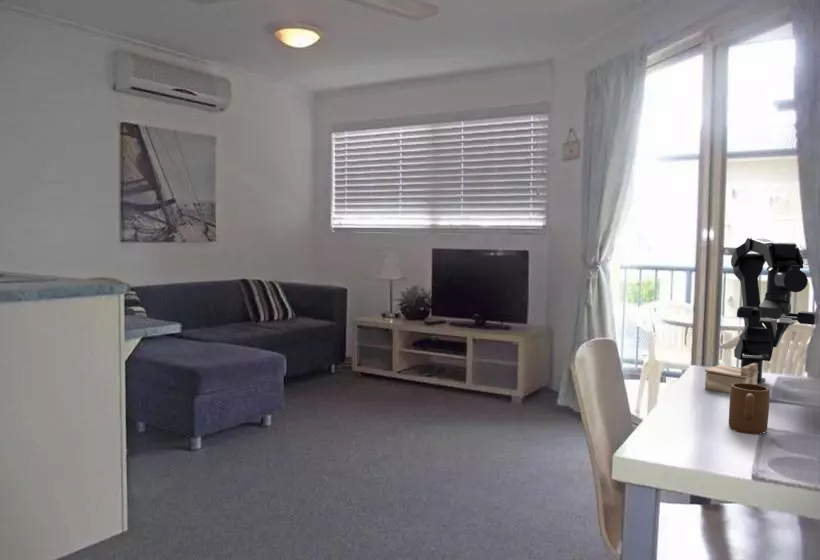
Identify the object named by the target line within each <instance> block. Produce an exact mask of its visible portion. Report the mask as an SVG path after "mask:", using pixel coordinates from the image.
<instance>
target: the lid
mask: <svg viewBox="0 0 820 560" xmlns="http://www.w3.org/2000/svg"><path fill="white" fill-rule="evenodd" d="M704 372H705V373H707V372H710V373H716V374H722V375H729V376H735V377H741V378H748V377H750V376H752V375H754V374H756V373H759V371H758V363H752V364H749V365H747V366H744V367H742V368H741V367H739V366H738V367H737V366H732V365H723V364H718V365H715V366H712V367H709V368H706V369H705V370H704Z"/></svg>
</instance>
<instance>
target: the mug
mask: <svg viewBox="0 0 820 560" xmlns="http://www.w3.org/2000/svg"><path fill="white" fill-rule="evenodd" d="M729 395H730V396H729V406H728V407H729V409H728V427H729V428H730V429H732V430H733V431H736V432H738V433H743V434H749V435H761V434H760V433H763V432H765V433H766V432H767V431H768V425H769V424H768V423H769V411H770V395H771V394H770V389H769V387H766V386H764V385H761V384H760V385H759V384H757V385H754V384H745V383H737V384H732V386H731V392H730V393H729ZM763 434H764V433H763Z"/></svg>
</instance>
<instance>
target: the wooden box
mask: <svg viewBox="0 0 820 560" xmlns="http://www.w3.org/2000/svg"><path fill="white" fill-rule="evenodd" d="M757 378H758V373H756V374H754V375H752V376H750V377H748V378H741V377H739V378H737V377H731V376H724V375H718V374H716V373H710V372H705V384H704V385H705V386H704V389H705V390H708V391H713V392H720V393H724V394H725V393H726V394H730V392H731V386H732V384H737V383H745V384H754V385H758V383H757Z"/></svg>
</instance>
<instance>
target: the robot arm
mask: <svg viewBox="0 0 820 560" xmlns="http://www.w3.org/2000/svg"><path fill="white" fill-rule="evenodd" d="M804 262H805V261H804V259H803V257H802V254H801V252H800V248H799V246H798V245H797V244H796V243H795V242H794V241H793V242H792V241H791V242H790V241H789V242H788V241H787V242H786V241H785V242H784V241H773V240H770V239H767V237H766V238H765V237H762V236H761V237H758V236H757V237H756V236H755V237H754V236H751V237H747V238H746V240H745V241H744V242H743V243H742V244H741V245H739V246H737V247H736V248H735V250H734V251H733V253H732V256H731V259H730V264H731V267H732V269H733V274H734V276H735V277H736V278H737V279H738V281H740V288H741V289H740V291H741V301H742V306H740V307H738V308H737V310H736V317H737V318H743V321H744V322H743V323H744V328H743V329H742V331H741V333H740V335H739V339H738V342H737V344H736V345H735V348H734V351H733V354H734V358H736V359H737V360H740V368H742V367H744V366H747V365H749V364H752V363H758V371H759V373H758V378H757V384H761V383H763V382H765V381H766V380H767V379H766V377H763V368H764V367H763V366H764V365H763V364H764V361H765V362H771V359H772V356H773V352H774V348H777V347H778V346H779V344H780V342H781V339H782V338H783V336H784V334H785V332H786V330H788V328H789V326H792V325H794V324H795V322H794V321H797V322H798V323H799V324H801V325H811V326H812V325H817V324H819V323H820V314H819V313H818V312H814V311H799V312H797V313H795V312H792V305H791V298H792V293H800V292H802V291H803V290H805V289H806V287H807V285H808V282H809V279H808V277H807V274H806V273H805V272H803V271H802V270H801V269H804V264H805V263H804ZM765 264H767V267H766V271H767V280H766V292H765V295H764V299H763V300H762V301H761V296H760V286H759V277H760V276H761V274H762V272H763V269H764V266H765ZM777 320H779V321H777Z"/></svg>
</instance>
